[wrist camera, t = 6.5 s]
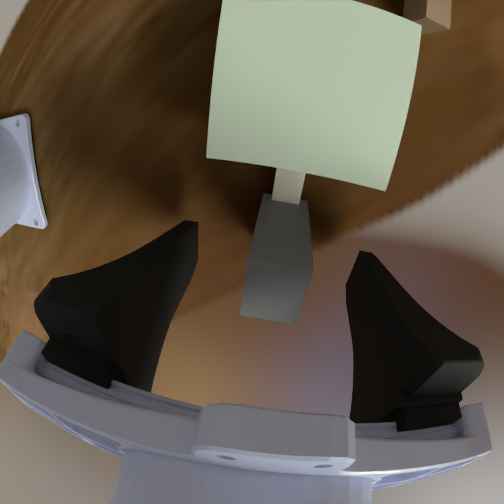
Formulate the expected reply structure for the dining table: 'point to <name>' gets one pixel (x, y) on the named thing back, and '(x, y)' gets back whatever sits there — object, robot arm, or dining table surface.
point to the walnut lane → (429, 14)
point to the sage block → (306, 119)
